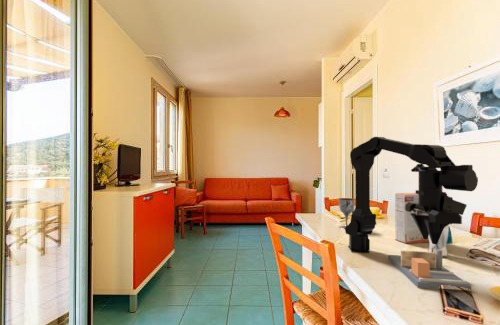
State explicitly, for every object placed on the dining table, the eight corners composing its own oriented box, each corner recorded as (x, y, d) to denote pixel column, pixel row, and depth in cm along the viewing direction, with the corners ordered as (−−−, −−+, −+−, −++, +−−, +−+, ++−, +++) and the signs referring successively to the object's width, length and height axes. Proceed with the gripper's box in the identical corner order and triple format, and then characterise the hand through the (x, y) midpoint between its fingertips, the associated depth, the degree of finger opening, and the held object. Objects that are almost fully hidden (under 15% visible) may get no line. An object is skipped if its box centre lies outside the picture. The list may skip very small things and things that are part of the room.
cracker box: (420, 238, 117) (420, 192, 117) (432, 242, 111) (432, 193, 111) (394, 239, 114) (394, 192, 114) (405, 244, 108) (405, 194, 108)
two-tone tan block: (433, 266, 79) (433, 252, 79) (435, 268, 78) (435, 253, 78) (400, 264, 81) (400, 250, 81) (402, 266, 80) (402, 251, 80)
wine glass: (357, 229, 131) (357, 200, 131) (341, 229, 131) (341, 200, 131) (351, 225, 138) (351, 198, 139) (336, 225, 139) (336, 198, 139)
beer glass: (454, 257, 91) (452, 215, 91) (431, 256, 92) (430, 215, 93) (443, 251, 98) (442, 212, 98) (423, 250, 99) (421, 212, 100)
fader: (417, 277, 72) (417, 262, 72) (411, 272, 75) (411, 257, 75) (429, 278, 71) (429, 263, 71) (422, 272, 75) (422, 258, 75)
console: (417, 287, 70) (417, 261, 70) (388, 259, 90) (388, 239, 90) (471, 291, 68) (471, 264, 68) (428, 261, 88) (428, 241, 88)
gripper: (485, 192, 64) (485, 254, 64) (442, 185, 83) (441, 234, 83) (436, 191, 66) (436, 251, 66) (404, 185, 84) (404, 232, 84)
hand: (430, 241), depth 75 cm, fingers open, 5 cm apart
